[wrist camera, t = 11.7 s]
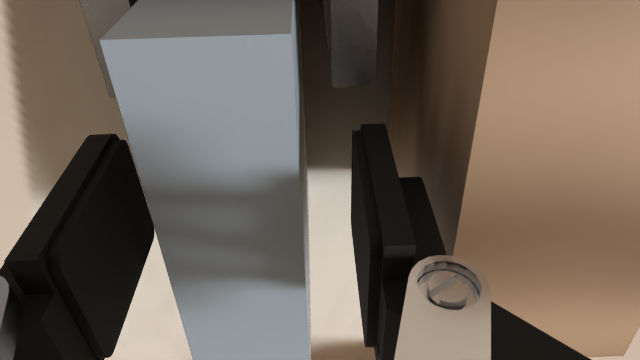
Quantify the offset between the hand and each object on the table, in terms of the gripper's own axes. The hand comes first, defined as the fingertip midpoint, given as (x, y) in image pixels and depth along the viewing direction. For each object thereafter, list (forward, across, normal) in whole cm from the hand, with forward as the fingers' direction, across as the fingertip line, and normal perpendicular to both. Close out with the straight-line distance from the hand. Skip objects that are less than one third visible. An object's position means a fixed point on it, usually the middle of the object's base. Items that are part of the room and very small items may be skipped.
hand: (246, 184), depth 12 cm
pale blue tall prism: (+7, 0, +1) cm, 7 cm away
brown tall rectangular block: (+7, -7, 0) cm, 10 cm away
